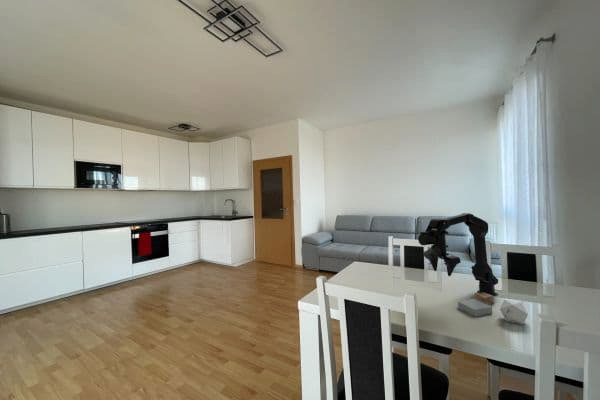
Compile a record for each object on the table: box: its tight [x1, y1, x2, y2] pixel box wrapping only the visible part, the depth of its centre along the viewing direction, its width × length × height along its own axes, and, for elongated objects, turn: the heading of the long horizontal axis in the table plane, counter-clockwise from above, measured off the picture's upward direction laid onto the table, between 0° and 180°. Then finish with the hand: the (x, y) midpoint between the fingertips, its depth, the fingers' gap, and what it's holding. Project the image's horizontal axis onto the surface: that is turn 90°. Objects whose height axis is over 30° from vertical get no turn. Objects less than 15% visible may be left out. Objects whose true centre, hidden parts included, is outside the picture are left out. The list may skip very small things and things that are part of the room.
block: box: [475, 292, 495, 306], centre depth 114 cm, size 5×5×4 cm
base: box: [457, 298, 493, 317], centre depth 107 cm, size 9×9×3 cm
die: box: [499, 299, 529, 325], centre depth 96 cm, size 8×9×10 cm
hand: (442, 273), depth 118 cm, fingers open, 9 cm apart
